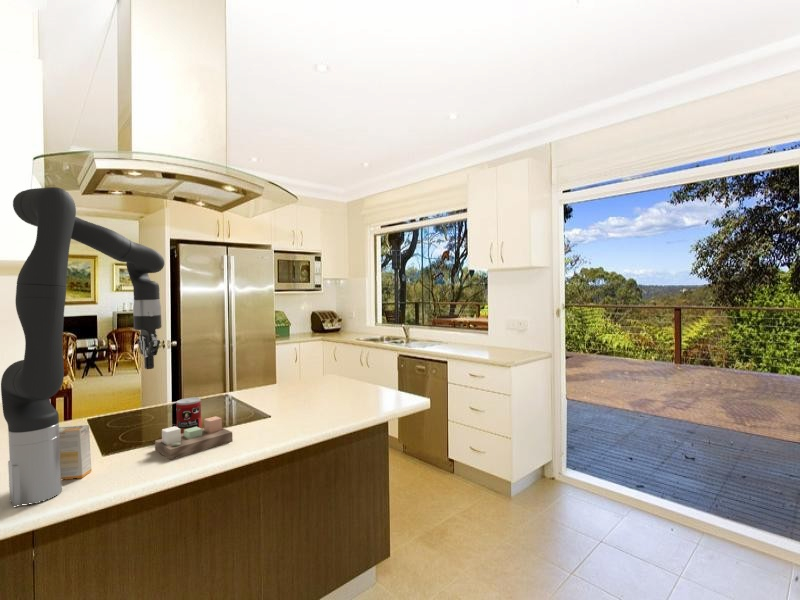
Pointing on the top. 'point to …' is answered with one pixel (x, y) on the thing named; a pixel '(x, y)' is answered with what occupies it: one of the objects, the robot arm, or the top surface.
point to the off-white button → (171, 435)
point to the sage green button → (192, 432)
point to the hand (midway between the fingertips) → (149, 368)
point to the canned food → (188, 413)
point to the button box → (193, 443)
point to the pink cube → (212, 424)
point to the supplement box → (75, 451)
